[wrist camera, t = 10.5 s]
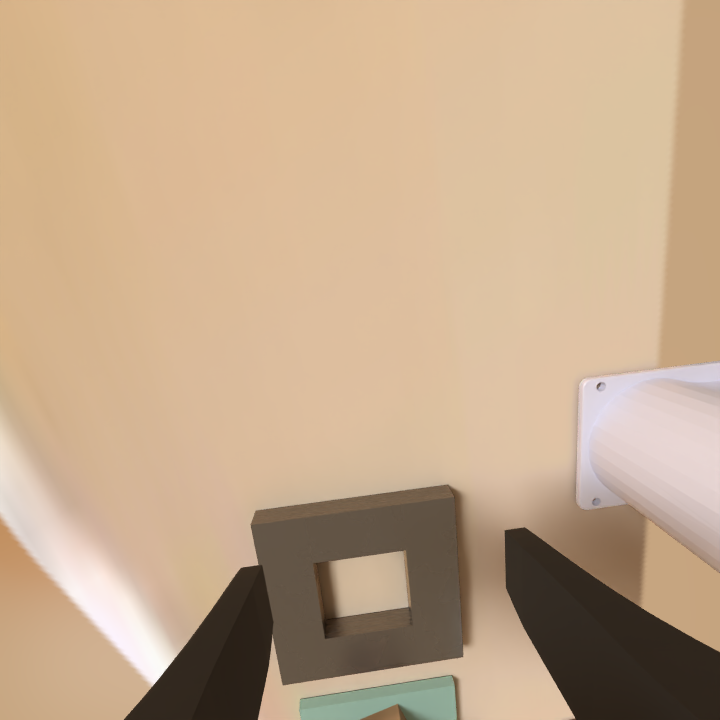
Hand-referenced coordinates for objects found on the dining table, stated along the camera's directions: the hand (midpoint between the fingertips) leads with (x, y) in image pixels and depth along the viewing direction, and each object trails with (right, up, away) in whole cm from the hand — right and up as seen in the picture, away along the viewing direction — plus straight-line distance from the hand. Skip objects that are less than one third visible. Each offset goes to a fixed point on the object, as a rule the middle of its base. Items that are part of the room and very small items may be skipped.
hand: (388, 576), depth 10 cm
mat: (+1, -19, +14) cm, 23 cm away
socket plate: (-1, -7, +11) cm, 13 cm away
